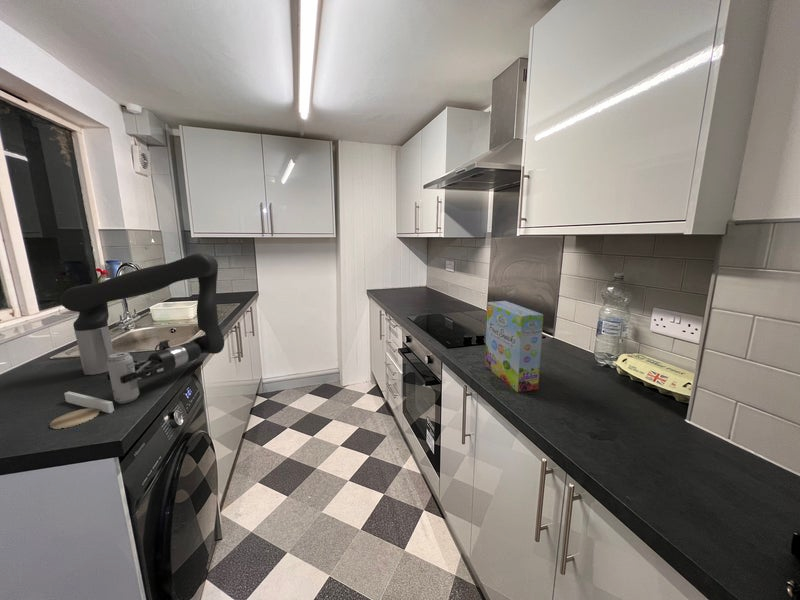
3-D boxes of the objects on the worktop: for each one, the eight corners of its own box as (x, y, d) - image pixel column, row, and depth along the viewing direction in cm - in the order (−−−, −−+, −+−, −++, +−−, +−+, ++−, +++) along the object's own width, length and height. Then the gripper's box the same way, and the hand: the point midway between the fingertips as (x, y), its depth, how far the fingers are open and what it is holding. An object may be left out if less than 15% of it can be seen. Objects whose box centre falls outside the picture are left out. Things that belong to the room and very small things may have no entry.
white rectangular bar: (66, 401, 100) (64, 393, 99) (71, 400, 101) (69, 391, 101) (109, 413, 93) (107, 403, 93) (114, 411, 94) (112, 401, 94)
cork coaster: (41, 425, 88) (41, 423, 88) (86, 406, 97) (86, 405, 97) (63, 432, 84) (63, 430, 84) (107, 412, 94) (107, 411, 93)
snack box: (482, 367, 122) (485, 301, 117) (502, 364, 124) (506, 300, 119) (516, 393, 101) (521, 315, 96) (540, 390, 104) (546, 313, 99)
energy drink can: (120, 396, 103) (111, 352, 100) (143, 393, 105) (134, 350, 102) (111, 406, 97) (101, 359, 94) (135, 402, 99) (126, 356, 96)
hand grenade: (166, 368, 125) (162, 343, 123) (156, 367, 126) (152, 343, 124) (179, 362, 131) (175, 339, 129) (169, 361, 132) (165, 338, 130)
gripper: (153, 347, 114) (96, 364, 99) (182, 351, 110) (127, 370, 94) (156, 366, 116) (101, 387, 100) (185, 371, 111) (132, 394, 96)
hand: (114, 379), depth 97 cm, fingers closed on energy drink can, 6 cm apart
